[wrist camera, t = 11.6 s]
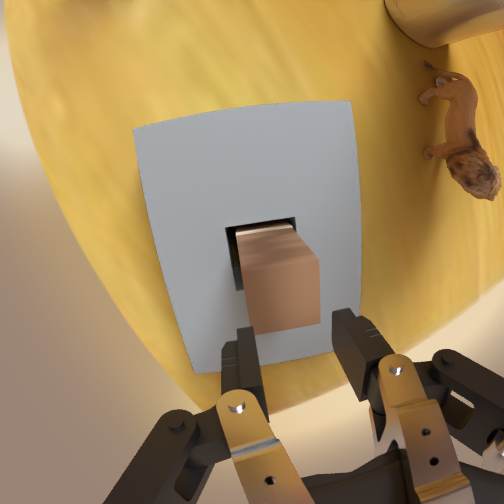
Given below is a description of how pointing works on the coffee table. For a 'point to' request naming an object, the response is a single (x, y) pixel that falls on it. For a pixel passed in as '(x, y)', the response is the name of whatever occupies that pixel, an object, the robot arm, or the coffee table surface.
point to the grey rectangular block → (252, 215)
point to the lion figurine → (462, 137)
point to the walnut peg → (278, 277)
